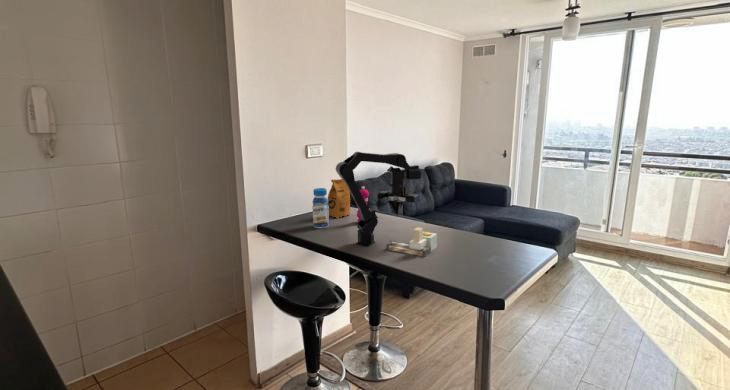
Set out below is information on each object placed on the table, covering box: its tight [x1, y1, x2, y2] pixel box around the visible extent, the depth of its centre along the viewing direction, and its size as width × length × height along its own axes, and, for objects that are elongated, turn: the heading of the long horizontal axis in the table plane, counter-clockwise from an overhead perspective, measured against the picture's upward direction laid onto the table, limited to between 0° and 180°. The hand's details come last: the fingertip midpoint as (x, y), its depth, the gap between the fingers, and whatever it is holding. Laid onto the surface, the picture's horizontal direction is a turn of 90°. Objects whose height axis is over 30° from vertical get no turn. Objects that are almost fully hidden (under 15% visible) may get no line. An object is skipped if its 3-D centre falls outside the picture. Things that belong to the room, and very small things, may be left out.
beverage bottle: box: [312, 187, 330, 229], centre depth 202 cm, size 8×8×20 cm
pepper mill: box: [356, 185, 370, 223], centre depth 209 cm, size 7×7×20 cm
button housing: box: [423, 231, 438, 252], centre depth 168 cm, size 7×7×6 cm
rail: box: [386, 239, 432, 258], centre depth 165 cm, size 18×6×2 cm, turn 58°
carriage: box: [409, 227, 427, 250], centre depth 162 cm, size 5×6×8 cm
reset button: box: [423, 231, 432, 236], centre depth 168 cm, size 3×3×5 cm
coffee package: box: [327, 178, 351, 219], centre depth 223 cm, size 10×12×22 cm
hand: (397, 214), depth 178 cm, fingers closed
